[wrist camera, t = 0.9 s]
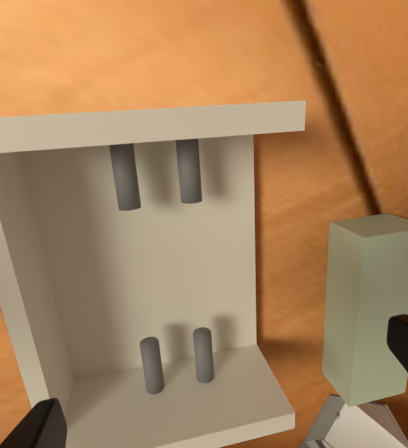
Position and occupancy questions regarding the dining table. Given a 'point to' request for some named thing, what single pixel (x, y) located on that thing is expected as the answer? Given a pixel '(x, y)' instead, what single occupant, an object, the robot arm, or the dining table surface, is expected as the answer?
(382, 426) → the skyscraper
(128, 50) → the dining table surface
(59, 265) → the tray
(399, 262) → the shelf board
